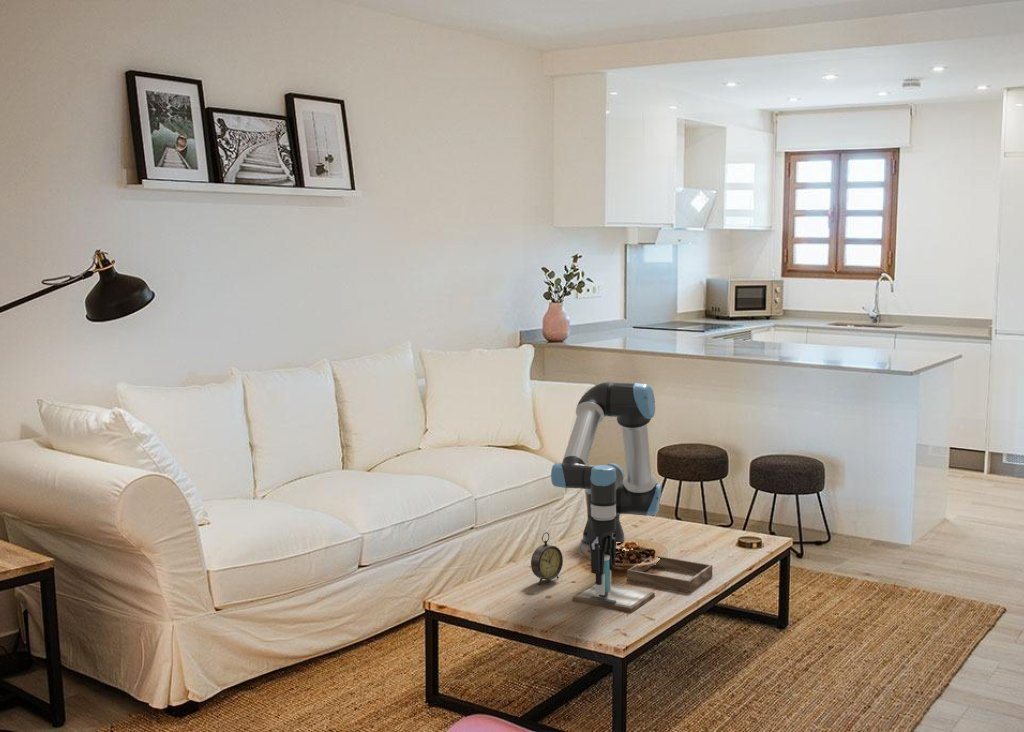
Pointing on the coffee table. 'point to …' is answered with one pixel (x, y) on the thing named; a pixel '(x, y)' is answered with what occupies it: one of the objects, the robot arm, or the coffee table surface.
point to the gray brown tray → (668, 582)
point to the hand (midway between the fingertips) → (603, 592)
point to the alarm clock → (546, 561)
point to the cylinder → (606, 574)
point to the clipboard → (615, 597)
